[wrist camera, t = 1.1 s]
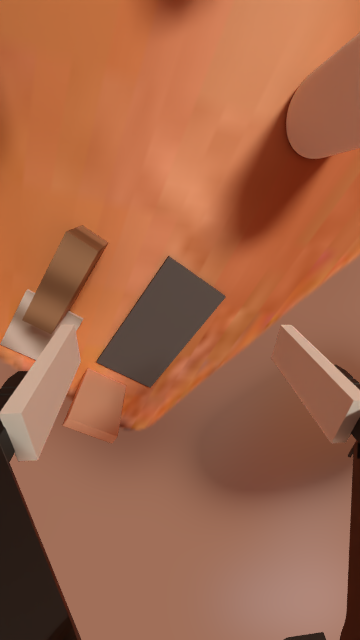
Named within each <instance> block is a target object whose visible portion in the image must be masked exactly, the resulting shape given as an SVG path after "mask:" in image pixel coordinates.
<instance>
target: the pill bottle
mask: <svg viewBox="0 0 360 640" xmlns="http://www.w3.org/2000/svg"><path fill="white" fill-rule="evenodd" d="M286 131H287V136H288V140H289V142H290V144H291V146H292V148H293V149H294V150H295V151H296V152H297V153H298V154H299V155H301V156H303V157H305V158H309V159H319V158H324V157H328V156H332V155H335V154H339V153H343V152H346V151H350V150H354V149H358V148H360V33H358V34H357V35H356V36H355V37H354V38H352V39H351V40H350V41H349V42H348V43H346V44H345V45H344V46H343V47H342V48H341V49H339V50H338V51H337V52H336V53H335V54H333V55H332V56H331V57H330V58H329V59H327V60H326V61H325V62H324V63H323V64H321V65H320V66H319V67H318V68H317V69H315V70H314V71H313V72H312V73H311V74H310V75H309V76H307V78H306V79H305V80H304V81H303V82H302V83H301V84H300V86H299V87H298V89H297V90H296V92H295V93H294V95H293V97H292V100H291V102H290V105H289V108H288V112H287V118H286Z"/></svg>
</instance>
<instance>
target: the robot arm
mask: <svg viewBox="0 0 360 640" xmlns="http://www.w3.org/2000/svg"><path fill="white" fill-rule="evenodd" d="M271 359H272V361H273V362H274V363H275V365H276V366H277V368H278V369H279V370H280V372H281V373H282V375H283V376H284V377H285V379H286V380H287V382H288V383H289V384H290V386H291V387H292V389H293V390H294V392H295V393H296V394H297V396H298V397H299V399H300V400H301V401H302V403H303V404H304V405H305V407H306V408H307V410H308V411H309V413H310V414H311V415H312V417H313V418H314V419H315V421H316V423H317V424H318V425H319V427H320V428H321V429H322V431H323V432H324V434H325V435H326V437H327V438H328V439H329V441H330V442H331V443H345V442H347V440H348V438H349V436H350V435H351V434H352V435H353V436H354V438H355V439H356V442H355V444H354V445H353V447H352V449H351V450H350V452H349V454H348V457H351V455H352V454H353V477H352V500H351V523H350V525H351V526H350V547H349V572H348V594H347V614H346V620H345V624H344V626H343V629H342V632H341V636H340V640H360V384H359V382H358V381H356V380H355V379H353V377H352V376H351V375H350V374H349V373H348V372H347V371H346V370H344V369H342V368H341V367H339V366H337V365H333V364H332V363H331V362H330V361H329V360H328V359H327V358H326V357H324V356H323V355H322V354H321V353H320V352H319V351H318V350H317V349H316V348H315V347H314V346H313V345H312V344H311V343H310V342H309V341H308V340H307V339H306V338H305V337H304V336H303V335H301V334H300V333H299V332H298V331H297V330H296V329H295V328H294V327H293V326H292V325H280V329H279V332H278V336H277V339H276V343H275V346H274V350H273V353H272V357H271ZM80 362H81V360H80V354H79V348H78V342H77V336H76V330H75V325H61V326H60V327H59V329H58V330H57V331H56V333H55V334H54V336H53V337H52V338H51V340H50V341H49V343H48V344H47V346H46V347H45V348H44V350H43V351H42V353H41V354H40V356H39V357H38V358H37V360H36V361H35V363H34V364H33V366H32V367H31V368H30V370H29V371H18V372H17V373H15V374H14V375H13V376H11V377H10V378H8V380H7V381H6V382H5V383H4V385H3V386H2V388H1V389H0V640H81V638H80V635H79V633H78V630H77V628H76V625H75V623H74V620H73V618H72V616H71V613H70V611H69V608H68V606H67V603H66V601H65V599H64V596H63V593H62V591H61V589H60V586H59V584H58V581H57V579H56V576H55V574H54V571H53V569H52V566H51V564H50V561H49V559H48V557H47V554H46V552H45V549H44V547H43V544H42V542H41V539H40V537H39V534H38V532H37V529H36V527H35V525H34V522H33V520H32V517H31V515H30V512H29V510H28V507H27V505H26V502H25V500H24V498H23V495H22V493H21V490H20V488H19V485H18V483H17V481H16V478H15V475H14V473H13V471H12V468H11V466H10V463H9V462H10V460H11V458H12V457H13V455H14V453H15V455H16V457H17V460H18V461H34V460H38V459H39V457H40V455H41V452H42V450H43V447H44V445H45V443H46V440H47V438H48V436H49V434H50V431H51V429H52V427H53V424H54V422H55V419H56V417H57V415H58V413H59V410H60V408H61V406H62V404H63V401H64V399H65V397H66V394H67V392H68V390H69V387H70V385H71V383H72V381H73V378H74V376H75V374H76V371H77V369H78V367H79V364H80ZM284 640H326V638H325V636H324V633H323V632H321V633H314V634H308V635H302V636H295V637H288V638H286V639H284Z"/></svg>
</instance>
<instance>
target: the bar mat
mask: <svg viewBox="0 0 360 640" xmlns="http://www.w3.org/2000/svg"><path fill="white" fill-rule="evenodd" d="M224 298H225V295H223V294H222V293H220V292H219V291H218V290H216V289H215V288H213V287H212V286H211V285H209V284H208V283H206V282H205V281H203V280H202V279H201V278H199V277H198V276H196V275H195V274H194V273H192V272H191V271H189V270H188V269H186V268H185V267H184V266H182V265H181V264H179V263H178V262H176V261H175V260H174V259H172V258H171V257H169V256H168V258H167V259H166V260H165V262H164V263H163V265H162V266H161V268H160V269H159V271H158V272H157V274H156V275H155V277H154V278H153V279H152V281H151V282H150V284H149V285H148V287H147V288H146V290H145V291H144V293H143V294H142V296H141V297H140V298H139V300H138V301H137V303H136V304H135V306H134V307H133V309H132V310H131V312H130V313H129V314H128V316H127V317H126V319H125V320H124V322H123V323H122V325H121V326H120V328H119V329H118V331H117V332H116V333H115V335H114V336H113V338H112V339H111V341H110V342H109V344H108V345H107V347H106V348H105V350H104V351H103V352H102V354H101V355H100V357H99V358H98V360H97V363H99V364H101V365H103V366H105V367H107V368H110V369H112V370H114V371H116V372H118V373H120V374H122V375H124V376H127V377H129V378H131V379H133V380H135V381H137V382H139V383H141V384H143V385H146V386H148V387H151V386H152V385H153V384H154V383H155V381H156V380H157V379H158V378H159V377H160V375H161V374H162V373H163V372H164V371H165V369H166V368H167V367H168V366H169V365H170V363H171V362H172V361H173V360H174V359H175V357H176V356H177V355H178V354H179V353H180V351H181V350H182V349H183V348H184V347H185V345H186V344H187V343H188V342H189V341H190V339H191V338H192V337H193V336H194V335H195V333H196V332H197V331H198V330H199V329H200V327H201V326H202V325H203V324H204V323H205V321H206V320H207V319H208V318H209V316H210V315H211V314H212V313H213V312H214V310H215V309H216V308H217V307H218V306H219V304H220V303H221V302H222V301H223V300H224Z"/></svg>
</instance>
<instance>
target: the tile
mask: <svg viewBox="0 0 360 640" xmlns="http://www.w3.org/2000/svg"><path fill="white" fill-rule="evenodd" d="M125 389H126V385H124V384H122V383H120V382H118V381H116V380H113V379H111V378H109V377H107V376H105V375H102V374H100V373H98V372H96V371H94V370H92V369H89V368H88V369H87V370H86V372H85V373H84V375H83V377H82V380H81V382H80V384H79V387H78V389H77V392H76V394H75V396H74V399H73V401H72V404H71V406H70V409H69V411H68V413H67V416H66V418H65V421H64V423H63V426H65V427H67V428H70V429H73V430H76V431H78V432H81V433H84V434H86V435H89V436H92V437H95V438H98V439H100V440H103V441H106V442H109V443H113V442H114V440H115V439H116V438H117V436H118V431H119V425H120V419H121V413H122V407H123V401H124V395H125Z"/></svg>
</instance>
